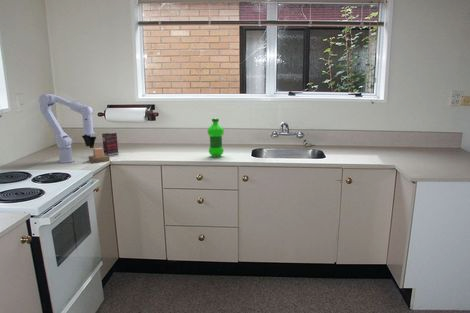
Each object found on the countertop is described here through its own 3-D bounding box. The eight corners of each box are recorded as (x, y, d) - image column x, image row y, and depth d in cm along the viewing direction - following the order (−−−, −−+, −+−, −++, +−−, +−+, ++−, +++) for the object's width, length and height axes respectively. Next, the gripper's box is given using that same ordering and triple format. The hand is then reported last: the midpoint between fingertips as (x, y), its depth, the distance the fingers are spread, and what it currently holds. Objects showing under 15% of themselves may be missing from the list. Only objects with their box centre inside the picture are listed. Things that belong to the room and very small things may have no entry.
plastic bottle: (206, 157, 254) (204, 119, 249) (212, 154, 264) (211, 117, 259) (220, 158, 251) (219, 119, 246) (226, 155, 260) (225, 118, 256)
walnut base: (88, 160, 250) (88, 156, 249) (104, 158, 256) (104, 154, 255) (93, 163, 242) (93, 158, 241) (109, 161, 248) (109, 156, 247)
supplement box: (115, 154, 270) (113, 132, 267) (118, 155, 267) (116, 132, 264) (103, 156, 264) (101, 133, 261) (106, 157, 261) (104, 133, 258)
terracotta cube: (93, 156, 249) (92, 148, 248) (101, 155, 252) (100, 147, 251) (95, 157, 245) (95, 149, 244) (103, 156, 248) (103, 148, 247)
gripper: (98, 126, 240) (100, 147, 243) (90, 124, 251) (92, 145, 254) (86, 127, 236) (88, 149, 238) (79, 125, 247) (81, 146, 250)
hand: (89, 147), depth 246 cm, fingers open, 7 cm apart
